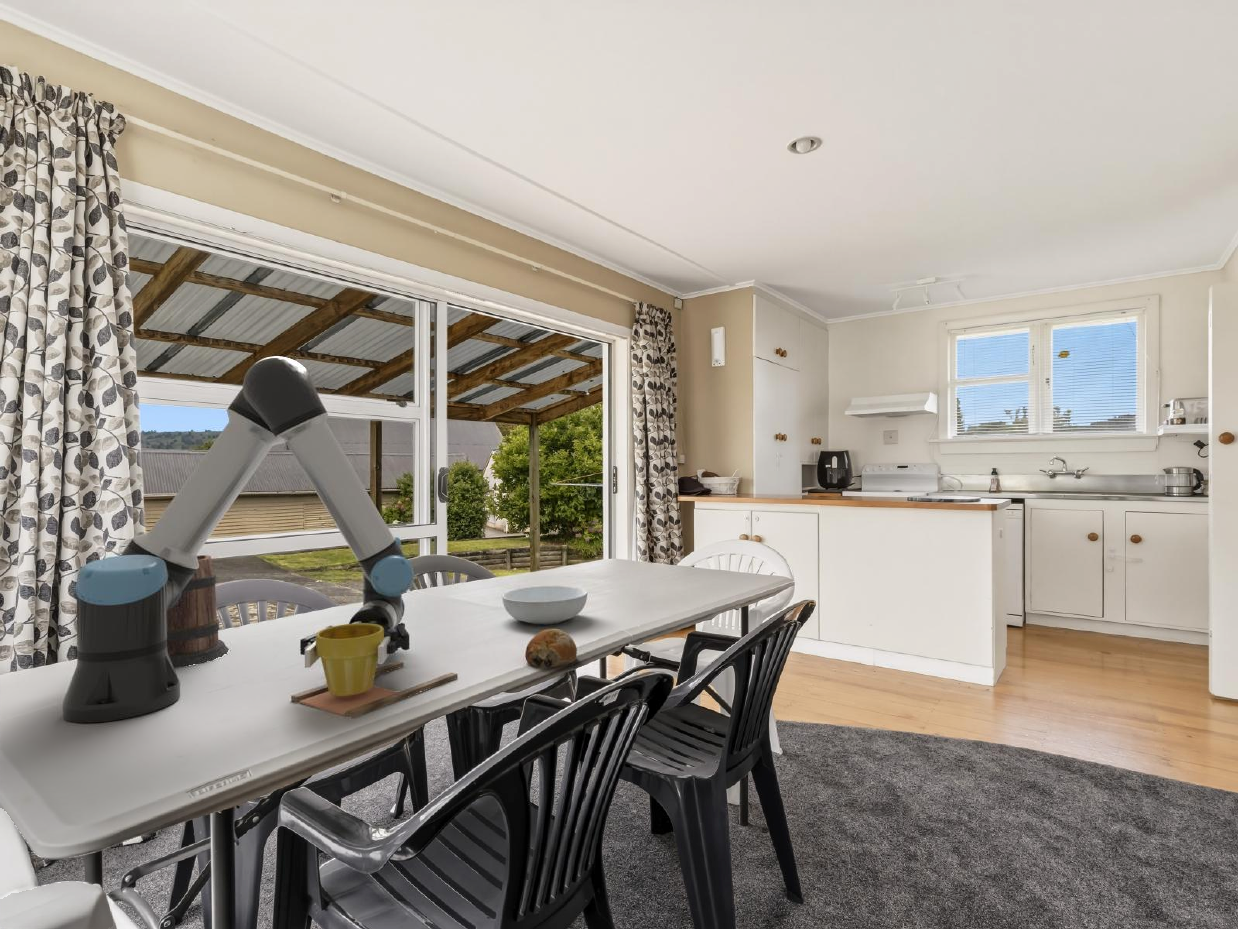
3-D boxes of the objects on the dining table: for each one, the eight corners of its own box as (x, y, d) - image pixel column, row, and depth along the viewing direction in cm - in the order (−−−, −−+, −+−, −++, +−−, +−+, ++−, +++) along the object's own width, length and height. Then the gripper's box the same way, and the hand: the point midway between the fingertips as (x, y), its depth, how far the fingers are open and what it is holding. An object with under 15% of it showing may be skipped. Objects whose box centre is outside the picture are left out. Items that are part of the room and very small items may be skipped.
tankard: (242, 655, 136) (242, 557, 136) (143, 675, 124) (142, 567, 124) (205, 636, 152) (205, 548, 152) (114, 652, 139) (113, 556, 139)
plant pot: (350, 704, 104) (350, 641, 104) (301, 695, 108) (301, 634, 108) (397, 684, 113) (397, 626, 113) (350, 676, 117) (350, 620, 117)
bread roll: (580, 681, 130) (593, 640, 133) (544, 669, 123) (558, 626, 126) (547, 670, 137) (559, 632, 139) (510, 658, 130) (524, 618, 132)
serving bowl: (542, 608, 180) (542, 582, 180) (604, 618, 168) (604, 590, 168) (484, 623, 163) (484, 594, 163) (548, 635, 151) (548, 604, 151)
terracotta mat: (343, 715, 103) (343, 713, 103) (299, 702, 108) (299, 701, 108) (400, 694, 112) (400, 692, 112) (357, 683, 118) (357, 681, 118)
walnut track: (353, 718, 102) (352, 713, 102) (291, 700, 110) (291, 695, 110) (457, 678, 121) (457, 673, 121) (398, 665, 129) (398, 661, 129)
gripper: (434, 641, 130) (418, 676, 108) (309, 647, 126) (267, 685, 104) (434, 602, 130) (418, 630, 108) (309, 607, 126) (266, 636, 104)
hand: (344, 657), depth 106 cm, fingers closed on plant pot, 10 cm apart
